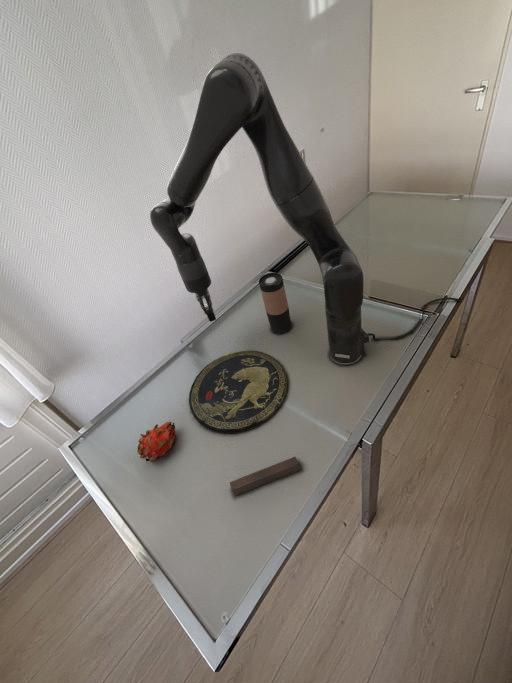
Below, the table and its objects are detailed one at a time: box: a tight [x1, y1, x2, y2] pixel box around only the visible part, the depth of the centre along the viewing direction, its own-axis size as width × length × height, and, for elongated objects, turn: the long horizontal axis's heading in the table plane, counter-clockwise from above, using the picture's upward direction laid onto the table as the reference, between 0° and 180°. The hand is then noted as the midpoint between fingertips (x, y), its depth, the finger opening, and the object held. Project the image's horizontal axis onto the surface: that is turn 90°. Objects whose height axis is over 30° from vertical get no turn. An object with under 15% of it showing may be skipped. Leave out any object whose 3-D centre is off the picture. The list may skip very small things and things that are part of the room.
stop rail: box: [229, 456, 301, 496], centre depth 73 cm, size 16×2×3 cm, turn 106°
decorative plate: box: [188, 349, 288, 434], centre depth 95 cm, size 30×2×30 cm
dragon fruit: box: [136, 421, 177, 462], centre depth 84 cm, size 8×8×12 cm
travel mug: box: [258, 272, 292, 335], centre depth 105 cm, size 8×8×20 cm
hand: (212, 319), depth 101 cm, fingers closed
